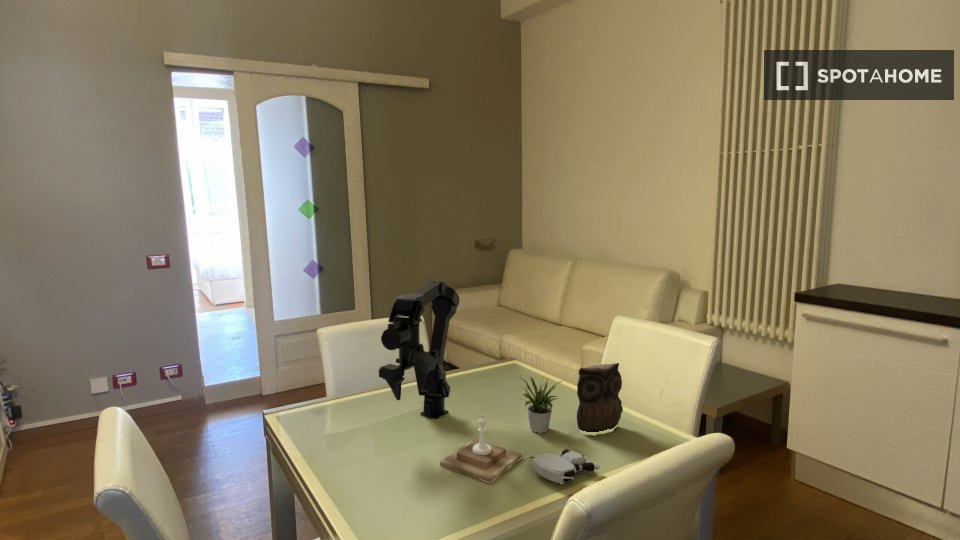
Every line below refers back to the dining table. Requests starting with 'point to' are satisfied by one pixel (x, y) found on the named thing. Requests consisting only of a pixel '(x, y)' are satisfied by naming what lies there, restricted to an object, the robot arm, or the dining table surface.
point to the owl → (599, 397)
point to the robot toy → (561, 465)
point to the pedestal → (480, 461)
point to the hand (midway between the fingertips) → (409, 395)
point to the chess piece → (482, 439)
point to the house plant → (539, 406)
